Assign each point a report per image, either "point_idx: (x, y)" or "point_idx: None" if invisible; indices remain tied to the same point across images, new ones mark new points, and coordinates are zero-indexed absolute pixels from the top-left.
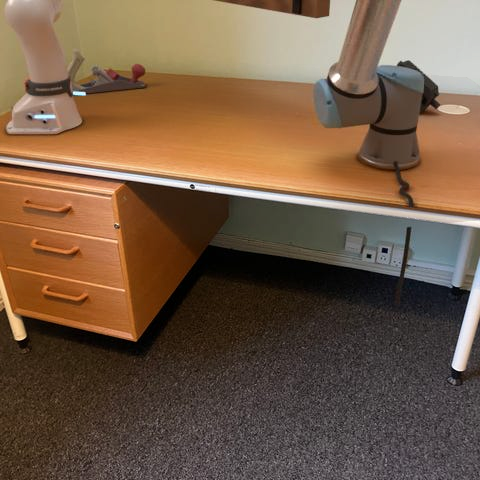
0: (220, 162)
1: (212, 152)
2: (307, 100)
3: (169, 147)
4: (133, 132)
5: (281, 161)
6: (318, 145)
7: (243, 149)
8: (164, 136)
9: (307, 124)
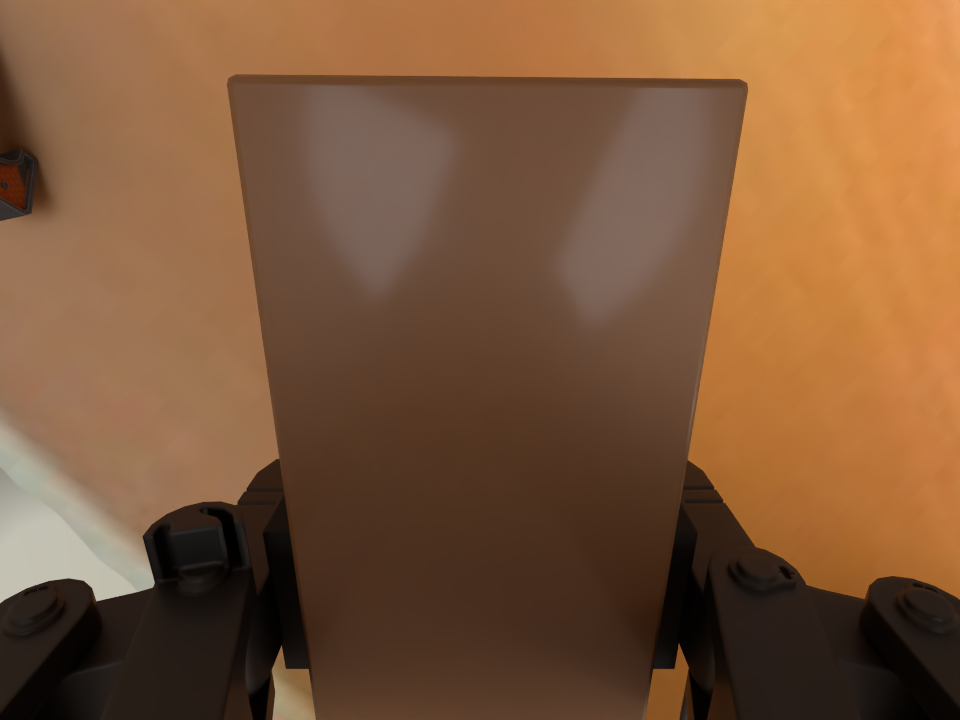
0: (926, 157)
1: (872, 246)
2: (263, 415)
3: (919, 370)
4: (887, 530)
5: (792, 5)
6: (575, 27)
7: (788, 196)
8: (857, 451)
9: None
